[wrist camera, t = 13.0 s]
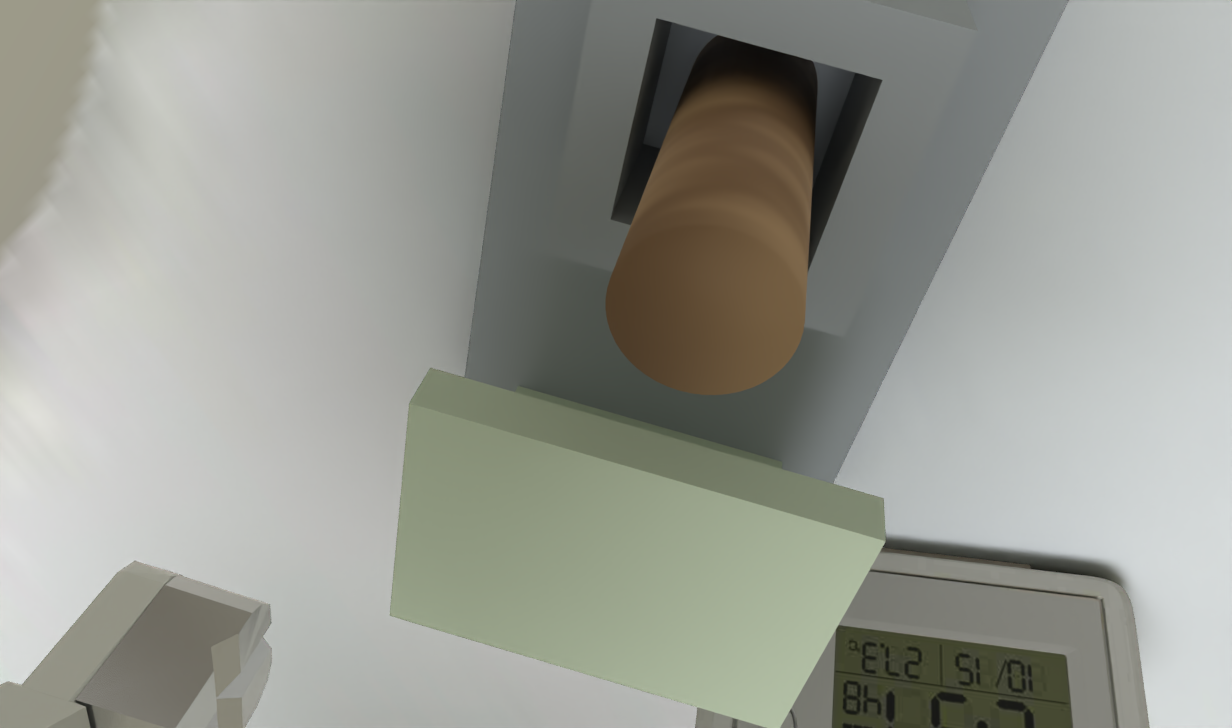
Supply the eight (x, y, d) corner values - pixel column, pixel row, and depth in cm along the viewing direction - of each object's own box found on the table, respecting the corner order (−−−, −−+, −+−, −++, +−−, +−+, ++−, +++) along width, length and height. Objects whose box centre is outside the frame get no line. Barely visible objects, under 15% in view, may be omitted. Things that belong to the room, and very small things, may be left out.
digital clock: (1150, 572, 37) (1243, 840, 28) (1047, 703, 42) (1099, 961, 34) (742, 466, 37) (713, 695, 29) (693, 608, 43) (657, 836, 34)
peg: (836, 43, 25) (833, 258, 16) (794, 163, 28) (769, 416, 18) (707, 8, 26) (627, 200, 16) (675, 131, 28) (588, 365, 18)
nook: (818, 478, 37) (811, 741, 28) (476, 380, 37) (358, 606, 28) (1069, -52, 25) (1202, 103, 16) (559, -188, 25) (399, -115, 16)
